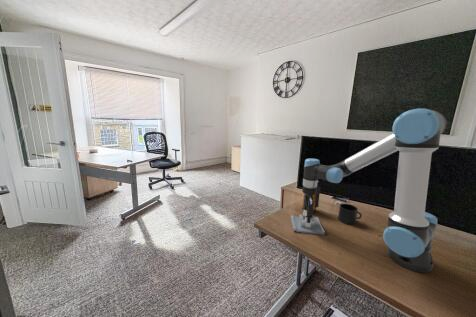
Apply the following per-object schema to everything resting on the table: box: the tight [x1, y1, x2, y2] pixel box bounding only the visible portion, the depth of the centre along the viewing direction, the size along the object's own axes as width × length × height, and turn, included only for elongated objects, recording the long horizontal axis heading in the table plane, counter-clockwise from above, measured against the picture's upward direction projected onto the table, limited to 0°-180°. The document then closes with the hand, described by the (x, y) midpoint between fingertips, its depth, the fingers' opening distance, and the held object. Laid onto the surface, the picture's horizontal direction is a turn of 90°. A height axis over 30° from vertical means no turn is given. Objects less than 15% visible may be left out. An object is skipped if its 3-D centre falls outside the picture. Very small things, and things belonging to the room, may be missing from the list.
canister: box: [301, 184, 322, 213], centre depth 128 cm, size 9×11×20 cm
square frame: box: [298, 213, 314, 228], centre depth 111 cm, size 7×7×4 cm
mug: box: [337, 203, 363, 225], centre depth 116 cm, size 9×12×9 cm
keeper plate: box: [290, 211, 326, 236], centre depth 111 cm, size 16×16×9 cm
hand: (306, 223), depth 111 cm, fingers closed on square frame, 7 cm apart
